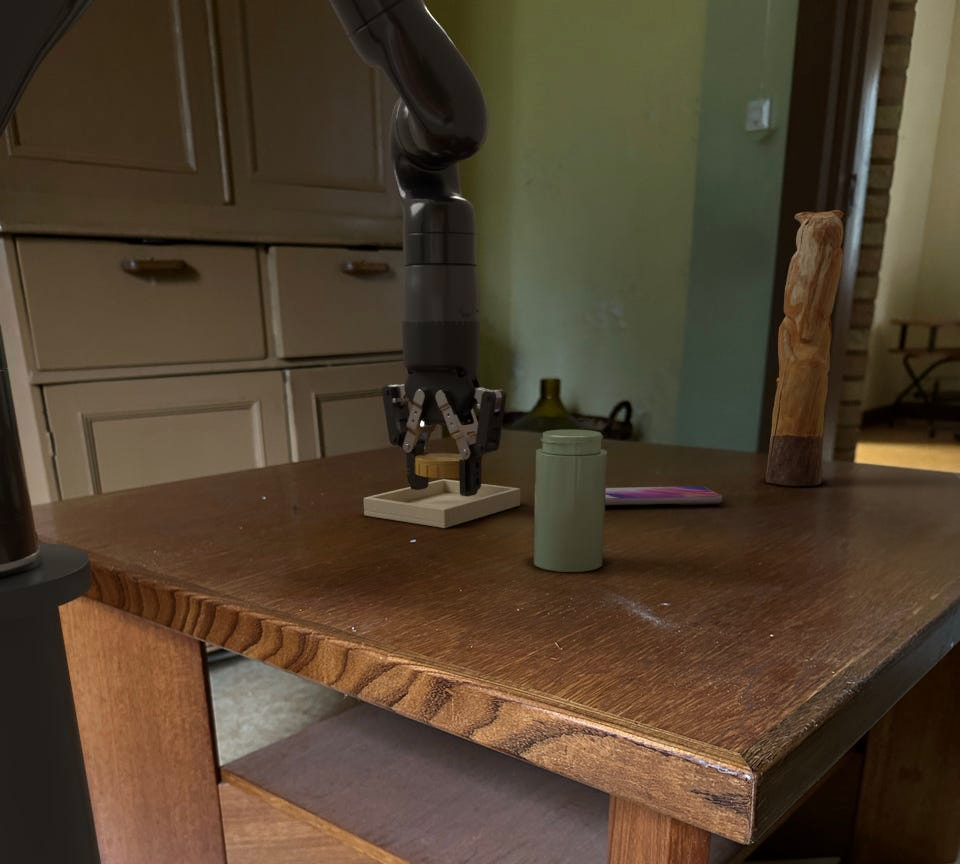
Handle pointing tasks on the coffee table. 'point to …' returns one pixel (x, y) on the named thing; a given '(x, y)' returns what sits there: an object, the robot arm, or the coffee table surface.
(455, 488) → the tray
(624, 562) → the coffee table surface
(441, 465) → the jar lid
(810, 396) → the sculpture
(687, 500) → the smartphone
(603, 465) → the jar
